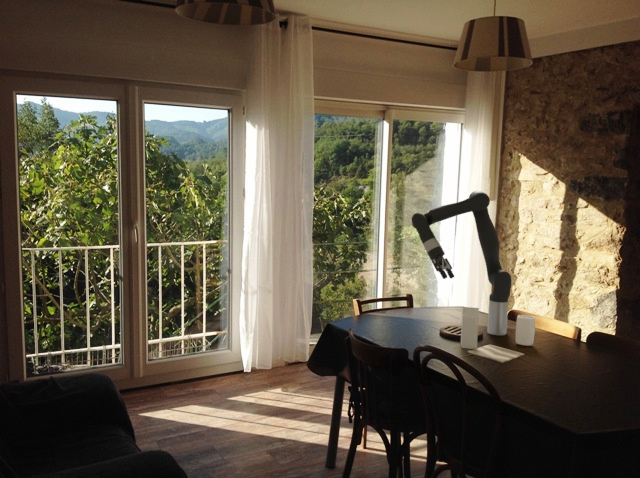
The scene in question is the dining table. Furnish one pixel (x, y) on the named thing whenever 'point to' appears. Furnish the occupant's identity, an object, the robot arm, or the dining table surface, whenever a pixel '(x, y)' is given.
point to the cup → (525, 329)
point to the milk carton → (469, 327)
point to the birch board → (496, 353)
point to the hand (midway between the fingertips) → (449, 277)
